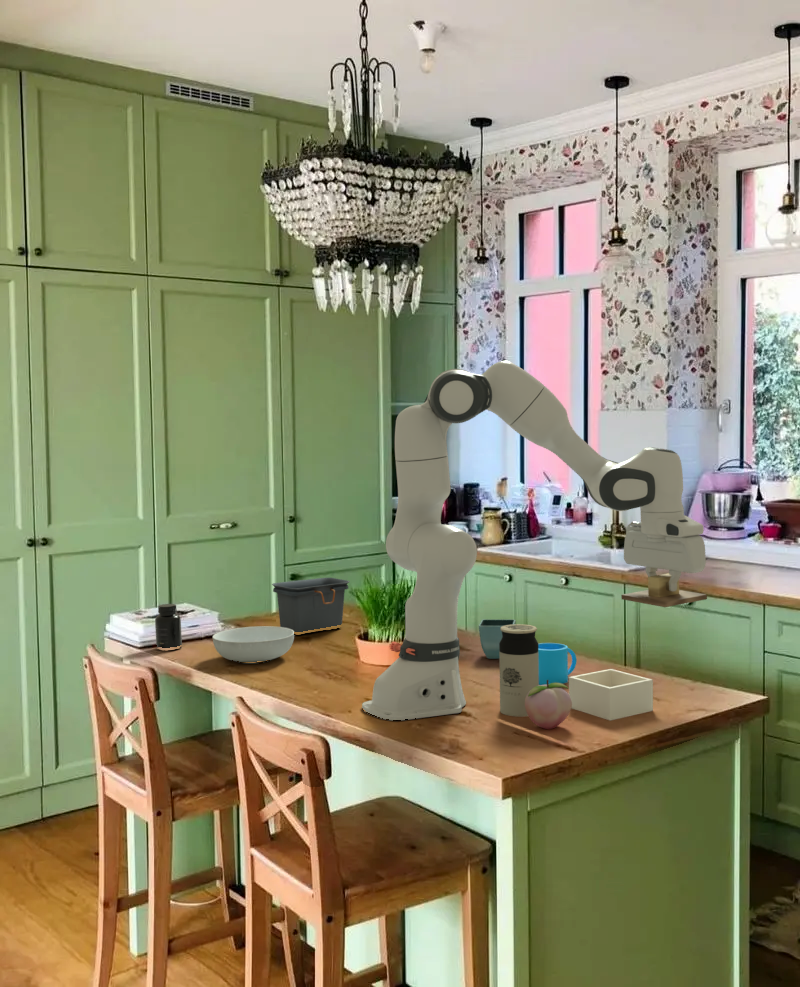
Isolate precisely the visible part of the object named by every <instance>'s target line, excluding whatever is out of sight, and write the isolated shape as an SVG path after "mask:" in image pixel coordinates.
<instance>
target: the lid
mask: <svg viewBox="0 0 800 987" xmlns="http://www.w3.org/2000/svg"><path fill="white" fill-rule="evenodd" d="M670 578H671V575H669V572H668V573H663V574H657V575H655V576H650V577H648V576H647V582H648V583H647V588H648V589H646V590H640V591H635V592H629V593H622V594H621V600H624V601H628V602H632V603H633V602H634V603H641V604H646V605H650V606H654V607H655V606H656V607H661V608H669V607H673V606H678V605H679V606H680V605H684V604H688V603H694V602H699V601H704V600H708V594H707V593H700V592H694V591H688V590H682V589H680V579H679V580H678V582H677V590H676V591H667V590H666V582H669V580H670Z"/></svg>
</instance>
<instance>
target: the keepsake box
mask: <svg viewBox="0 0 800 987" xmlns="http://www.w3.org/2000/svg"><path fill="white" fill-rule="evenodd" d="M653 685H654V680H653V679H652V678H648V677H644V676H640V675H637V674H632V673H629V672H625V671H620V670H618V669H617V670H616V669H615V668H609V669H602V670H598V671H594V672H588V673H582V674H578V675H572V676H568V688H569V689H568V694H569V696H570V698H571V701H572V707H571V710H576V711H579V712H582V713H585V714H588V715H591V716H594V717H598V718H600V719H603V720H607V721H614V720H619V719H623V718H628V717H631V716H635V715H640V714H645V713H648V712H653V711H654V698H653V697H654V686H653Z"/></svg>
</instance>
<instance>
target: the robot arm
mask: <svg viewBox="0 0 800 987" xmlns="http://www.w3.org/2000/svg"><path fill="white" fill-rule="evenodd" d="M485 411H490V412H492V413H493V414H495V415H496V416H498V418H500V419H501V420H502V421H504V423H505V424H507V425H508V427H510V428H512V429H513V431H515V432H516V433H517V434H518V435H520V436H522V437H523V438H525V439H526V440H528V441H530V442H531V443H533V444H535V445H537V446H538V447H542V448H544V449H546V450H547V451H550V452H551V453H553V454H554V455H556V456H557V457H558V458H559V459H560V460H561V461H562V462H564V464H565V465H567V467H569V468H570V469H571V470H572V471H574V473H576V474H577V475H578V476H579V477H580V479H581V480H582V481H583V483H584V485H585V488H586V490H587V492H588V494H589V496H590V498H592V500H593V502H595V503H596V504H597V505H599V506H601V507H602V508H603V507H604V508H607V509H609V510H613V511H617V512H626V511H629V510H633V509H637V508H640V522H639V521H638V522H637V521H631V522H630V523H629V524H628V525H627V526H626V529H625V533H626V534H625V537H624V542H623V543H624V545H623V546H624V547H623V559H624V563H626V564H628V565H631V566H632V565H633V566H639V567H645V573H646V575H647V578H648V577H650V576H655V575H658V574H657V572H658V569H660V570H667V571H668V573H669V575H671V578H670V580H669V582H666V590H667V591H676V590H677V582H678V580H679V581H680V578H681V576H682V573H687V574H688V573H689V574H696V573H697V574H698V573H701V572H704V569H705V568H706V565H707V564H706V563H707V562H706V547H705V546H706V545H705V541H704V539H703V537H702V536H701V535H703V534H704V524H702V523H700V522H698V521H697V520H694V519H693V518H691V517H689V516H688V515H685V513H684V512H685V510H684V505H683V502H682V496H683V493H684V492H683V491H684V477H683V468H682V467H683V466H682V460H681V458H680V456H679V454H678V453H677V452H676V451H674V450H672V449H666V448H659V447H652V446H648V447H644V448H642V450H641V451H639V452H638V453H637V454H635V455H634V456H632V457H629V458H628V459H626V460H624V461H621V462H617V461H614V460H610V459H607V458H605V457H603V456H602V455H600V454H599V453H598V452H597V451H596V450H595V449H594V448H593V447H592V446H591V445H589V443H587V441H585V440H584V439H583V438H581V437H580V435H578V434H577V432H576V431H575V430H574V429H573V427H572V425H571V423H570V420H569V417H568V413H567V409H566V408H565V407H564V405H563V403H561V401H560V400H559V399H558V397H556V395H555V394H554V393H553V392H552V391H551V390H550V389H549V388H548V387H547V386H545V384H543V383H542V381H541V382H540V381H539V380H538V379H537V378H536V377H535V376H534V375H532V374H531V373H529V372H527V371H526V370H524V369H523V368H521V367H520V366H518V365H516V364H515V363H513V362H512V361H509V360H502V361H498V362H496V363H494V364H492V365H491V366H489V367H488V368H487V369H486V370H485V371H484V372H483V373H481V374H478V373H471V372H469V371H467V370H465V369H462V368H461V369H460V368H451V369H446V370H444V371H442V372H441V373H439V374H438V375H437V376H436V377H435V378H434V380H433V381H432V383H431V384H430V387H429V391H428V394H427V395H426V397H425V399H424V402H423V403H421V404H415V405H410V406H408V407H406V408H404V409H403V410H401V411H400V412H399V413H398V415H397V417H396V420H395V427H394V457H395V460H394V461H395V469H396V480H397V507H396V508H397V509H396V514H395V520H394V523H393V526H392V528H391V529H390V530H389V532H388V533H387V536H386V539H385V540H386V541H385V550H386V553H387V555H388V558H389V559H390V560H391V561H392V562H393V563H395V564H396V565H398V566H399V567H401V569H404V570H407V571H411V572H416V581H415V585H414V589H413V592H412V594H411V596H409V597H408V599H407V600H406V602H405V606H404V611H405V613H404V615H405V620H404V621H405V622H404V624H405V637H404V639H403V641H402V644H401V643H399V642H396V641H392V642H390V644H389V650H390V651H392V652H395V653H398V657H397V659H395V661H394V662H392V664H390V665H389V666H388V667H387V668H386V670H384V671H383V672H382V673H381V674H380V675H379V676H378V677H377V678H376V679H375V681H374V683H373V684H374V685H373V687H372V689H373V690H372V696H371V700H367V701H364V702H362V705H361V709H362V708H363V709H364V710H365V711H366V712H368V713H370V714H372V715H375V716H377V717H376V718H378V717H380V718H379V719H382V718H383V719H382V720H386V719H389V720H388V721H393V720H401V721H406V720H405V719H408V720H415V718H416V719H422V718H430V717H437V716H439V717H440V716H444V715H452V714H459V713H461V712H462V711H463V710H462V708H463V707H464V706H466V704H467V701H466V698H465V695H464V690H463V686H462V681H461V674H460V673H461V672H460V667H459V666H460V665H459V659H460V654H461V652H460V650H461V649H460V645H461V644H460V638H459V637H458V606H459V605H458V603H459V598H460V597H459V596H460V592H461V588H462V585H463V583H464V580H465V577H466V575H467V574H468V573H470V571H471V570H472V569H473V567H474V565H475V564H476V560H477V557H478V548H477V544H476V542H475V540H474V537H472V535H471V534H470V533H468V532H466V531H464V530H463V529H461V528H459V527H456V526H454V525H450V524H442V521H441V520H442V513H443V507H444V504H445V501H447V499H448V497H449V496H450V494H451V490H452V489H451V478H450V467H449V456H448V455H449V454H448V448H447V447H448V446H447V433H448V430H449V428H450V426H452V424H463V423H466V422H467V421H470V420H472V419H474V418H475V417H476V416H478V415H479V414H481V413H483V412H485ZM365 711H364V712H365ZM366 712H365V713H366ZM368 713H367V714H368ZM370 714H369V715H370ZM372 715H371V716H372ZM375 716H374V717H375Z"/></svg>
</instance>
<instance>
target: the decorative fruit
mask: <svg viewBox="0 0 800 987" xmlns="http://www.w3.org/2000/svg"><path fill="white" fill-rule="evenodd" d="M564 688H566V689H568V690H569V686H567V685H565V683H563V684H561V683H551V684H548V680H547V685H539V686H536V687H534V688H533V689H531V690H530V691H529V692H528V694H527V696H526V698H525V709H526V712H527V714H528V716H527V717H528V718H529V719H530V721H531V722H532V723H533V724H534V725H536V726H537V727H539V728H541V729H545V730H551V729H554V728H556V727H558V726H559V725H561V724H562V723H563V722H564V721H565V719H567V718H568V716H569V715H570V712H571V710H572V708H571V707H572V701H571V698H570V696H569V692H567V690H566V689H564Z"/></svg>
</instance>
